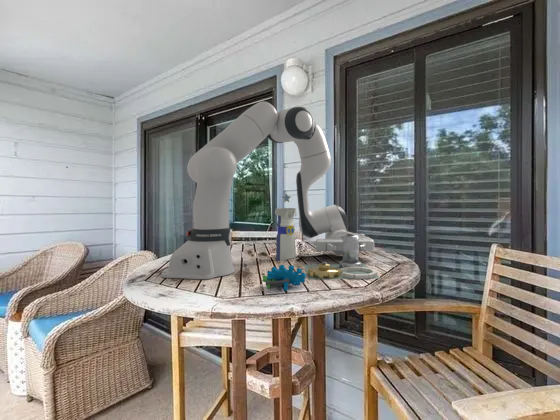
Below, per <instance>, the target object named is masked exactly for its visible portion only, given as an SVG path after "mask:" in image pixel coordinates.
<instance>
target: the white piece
mask: <svg viewBox="0 0 560 420" xmlns="http://www.w3.org/2000/svg"><path fill="white" fill-rule="evenodd" d="M281 198H283V203H286V202H288V203H290V200H289V199H290V198H292V196H290V195H288V194H287V193H285V195H282V196H281ZM297 214H298V213H297V208H294V207H283V208H282V207H280V208H279V207H277V208H275V210H274V215H276V216H277V223H276V224H275V225H276V226H277V227H276V228H277V229H276V230H277V232H276V233H277V234H276V237H275V238H276V239H275V242H276V244H275V245H276V247H275V248H276V249H275V250H276V251H275V261H277V262H287V261H288V260H290V259H295V258H296V257H297V251H296V249H297V246H296V234H295V225H296V223H295V222H294V218H296V217H297Z"/></svg>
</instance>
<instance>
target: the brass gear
mask: <svg viewBox="0 0 560 420" xmlns="http://www.w3.org/2000/svg"><path fill="white" fill-rule="evenodd" d="M318 264H319V266H315V267H310V268H309V269H307V273H306V275H307V274H308V275H310V277H317V278H322V279H321V280H324V279H323V278H334V277H340V275H341V269H338V268H337V267H330V263H327V261H322V262H320V263H318Z"/></svg>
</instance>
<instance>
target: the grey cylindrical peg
mask: <svg viewBox="0 0 560 420" xmlns="http://www.w3.org/2000/svg"><path fill="white" fill-rule="evenodd" d="M353 233H354V232H350V233H348V234H347V235H343V255H342V260H340V261H339V262H338V264H339V267H342V268H345V267H362V264H363V262H362V261H361V260H359V256H360V252H359V236H358V235H354V234H353Z"/></svg>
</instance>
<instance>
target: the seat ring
mask: <svg viewBox="0 0 560 420" xmlns="http://www.w3.org/2000/svg"><path fill="white" fill-rule="evenodd" d="M347 271H364V272H370V273H369V274H350V273H345V272H347ZM341 273H342V276H343V277H347V278H352V279H351V280H370V279H369V278H373V277H376V276H377V275H378V271H377V270H375V269H374V268H370V267H368V268H365V267H345V268H341ZM353 278H355V279H353Z"/></svg>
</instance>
